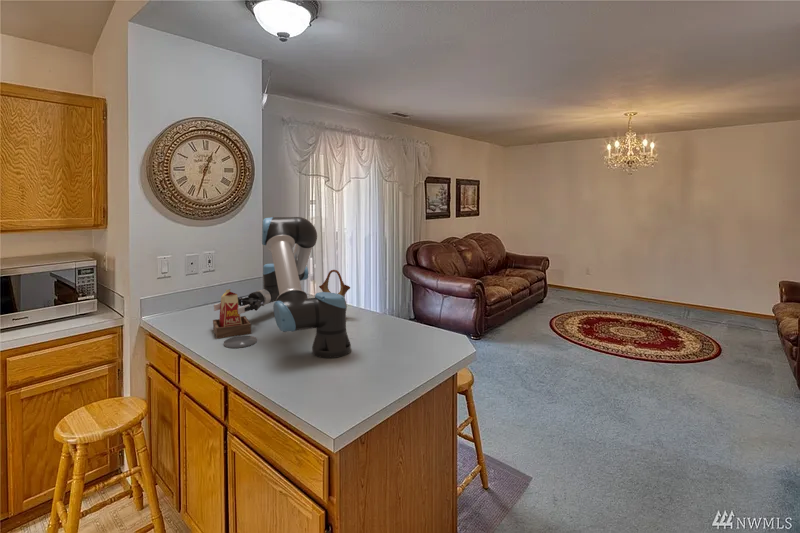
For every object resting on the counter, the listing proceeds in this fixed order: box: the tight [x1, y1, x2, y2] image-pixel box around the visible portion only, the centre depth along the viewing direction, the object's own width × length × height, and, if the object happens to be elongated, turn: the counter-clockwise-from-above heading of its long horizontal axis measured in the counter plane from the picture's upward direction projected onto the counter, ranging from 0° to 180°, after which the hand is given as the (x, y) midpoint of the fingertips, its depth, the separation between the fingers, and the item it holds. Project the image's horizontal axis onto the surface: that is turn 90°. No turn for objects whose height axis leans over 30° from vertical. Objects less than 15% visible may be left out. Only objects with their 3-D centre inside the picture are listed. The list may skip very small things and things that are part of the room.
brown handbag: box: [318, 269, 351, 311], centre depth 207 cm, size 16×9×25 cm, turn 77°
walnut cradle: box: [212, 315, 252, 339], centre depth 188 cm, size 14×14×4 cm
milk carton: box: [219, 288, 242, 327], centre depth 188 cm, size 9×9×20 cm
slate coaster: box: [223, 335, 258, 349], centre depth 175 cm, size 13×13×1 cm
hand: (226, 309), depth 185 cm, fingers open, 13 cm apart
